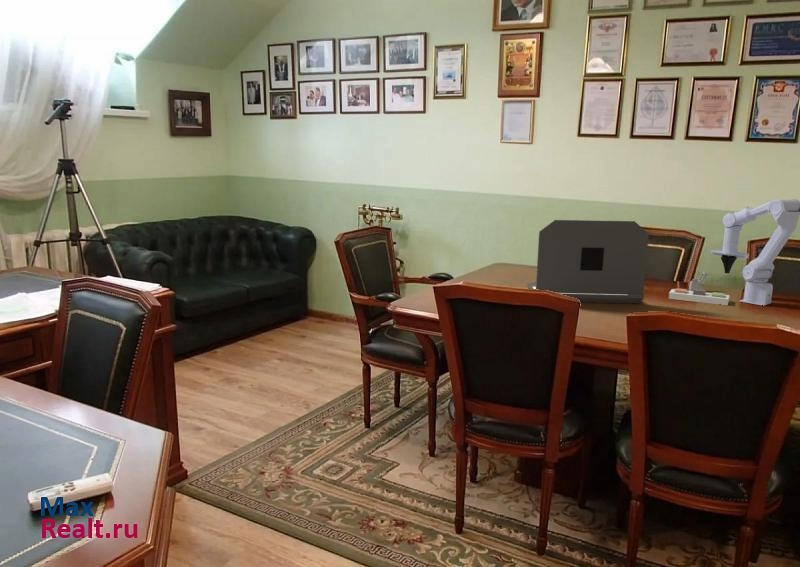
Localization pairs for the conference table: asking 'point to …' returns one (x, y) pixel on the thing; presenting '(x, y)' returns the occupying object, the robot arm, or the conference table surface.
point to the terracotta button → (681, 290)
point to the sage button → (718, 294)
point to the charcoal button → (699, 292)
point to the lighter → (696, 282)
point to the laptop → (593, 260)
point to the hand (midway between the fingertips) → (727, 273)
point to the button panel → (699, 297)
